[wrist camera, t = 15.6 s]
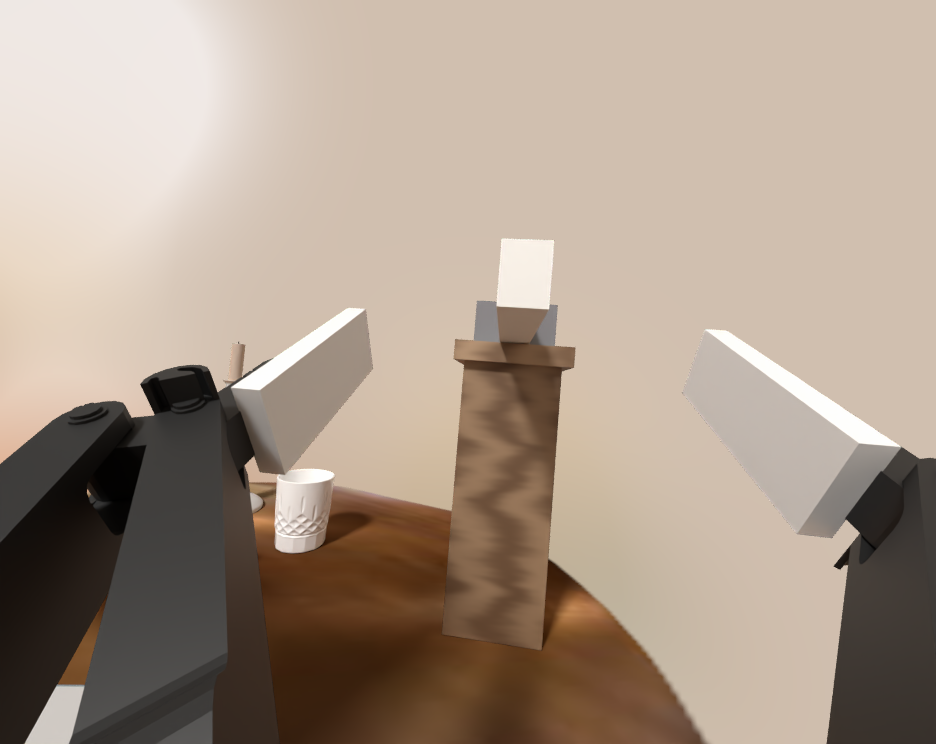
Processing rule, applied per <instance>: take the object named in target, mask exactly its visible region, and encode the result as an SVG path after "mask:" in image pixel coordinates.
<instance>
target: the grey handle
mask: <svg viewBox="0 0 936 744" xmlns="http://www.w3.org/2000/svg"><path fill="white" fill-rule="evenodd" d="M553 249H554V241H553V240H527V239H502V244H501V256H500V268H499V280H498V293H497V302H492V301H477V308H476V320H475V333H474V341H487V342H502V343H517V344H531V345H546V346H555V335H556V320H557V307H558V306H557V305H549V302H550V290H551V277H552V275H551V274H552V263H553Z"/></svg>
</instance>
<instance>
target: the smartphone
mask: <svg viewBox="0 0 936 744" xmlns="http://www.w3.org/2000/svg"><path fill="white" fill-rule="evenodd" d="M84 686H85V685H57V686H56V688H55V690H54V691H53V693H52V695H51V697H50V699H49V700H48V702H47V704H46V706H45V708H44V709H43V711H42V713H41V715H40V717H39V719H38V720H37V722H36V724H35V726H34V728H33V729H32V731H31V733H30V735H29V737H28V738H27V740H26V742H25V744H69V742H70V739H71V736H72V733H73V729H74V725H75V721H76V718H77V714H78V710H79V706H80V702H81V698H82V694H83V690H84Z"/></svg>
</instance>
